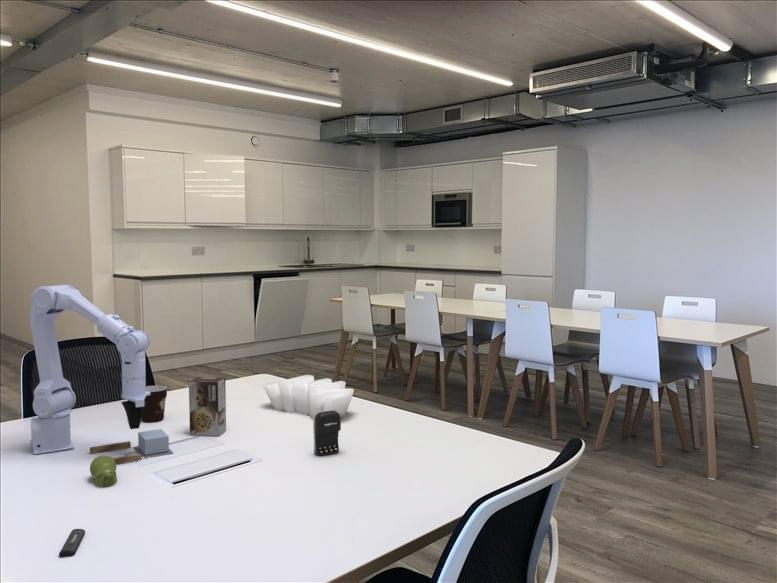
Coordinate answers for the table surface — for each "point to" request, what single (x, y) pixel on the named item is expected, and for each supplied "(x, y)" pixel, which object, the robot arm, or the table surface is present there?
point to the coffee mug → (154, 404)
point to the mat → (151, 454)
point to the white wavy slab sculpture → (309, 395)
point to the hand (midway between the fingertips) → (134, 428)
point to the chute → (116, 447)
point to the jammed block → (153, 441)
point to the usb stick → (72, 543)
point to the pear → (104, 471)
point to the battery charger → (326, 432)
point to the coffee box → (207, 406)
